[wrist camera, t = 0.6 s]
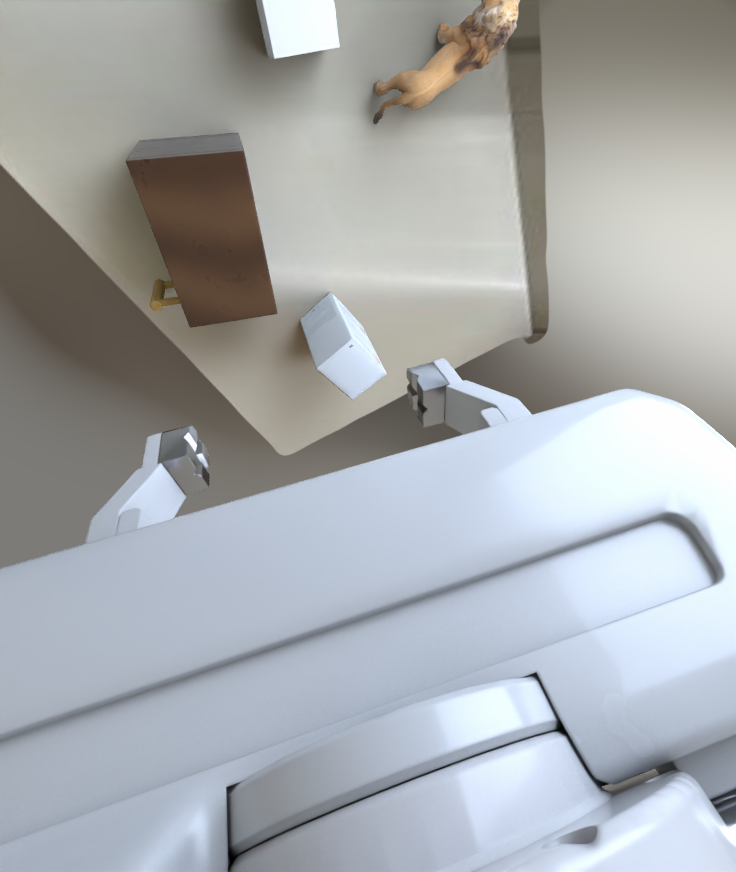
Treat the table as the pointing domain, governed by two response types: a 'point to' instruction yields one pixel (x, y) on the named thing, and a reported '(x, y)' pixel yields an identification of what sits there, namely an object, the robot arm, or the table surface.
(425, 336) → the table surface
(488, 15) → the lion figurine
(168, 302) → the handled teal slab
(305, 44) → the white cube
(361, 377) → the small box
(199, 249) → the cabinet
